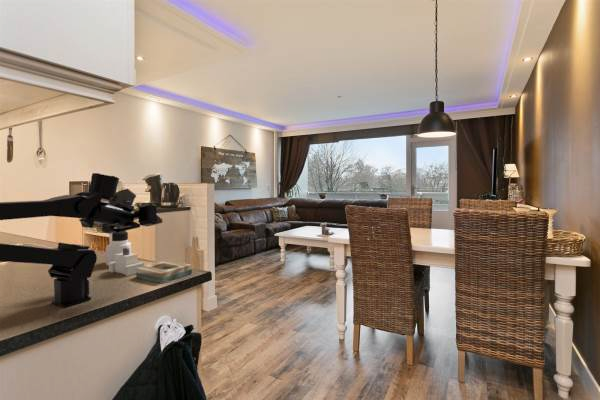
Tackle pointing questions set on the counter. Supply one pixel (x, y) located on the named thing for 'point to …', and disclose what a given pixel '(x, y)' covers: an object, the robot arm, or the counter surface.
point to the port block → (163, 271)
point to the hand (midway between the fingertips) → (150, 223)
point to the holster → (126, 268)
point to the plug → (124, 260)
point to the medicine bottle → (116, 245)
